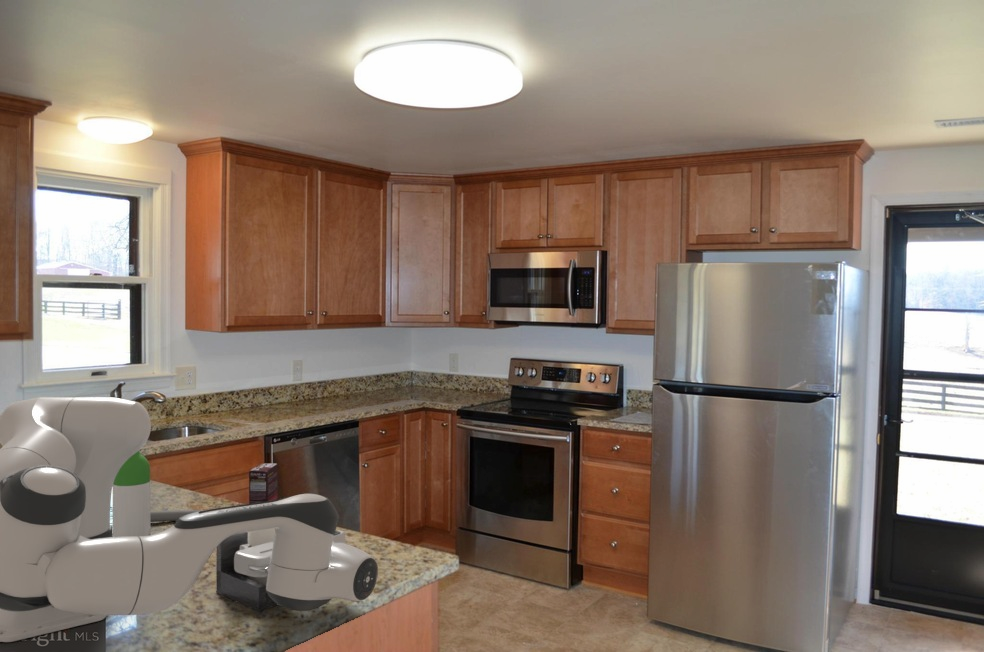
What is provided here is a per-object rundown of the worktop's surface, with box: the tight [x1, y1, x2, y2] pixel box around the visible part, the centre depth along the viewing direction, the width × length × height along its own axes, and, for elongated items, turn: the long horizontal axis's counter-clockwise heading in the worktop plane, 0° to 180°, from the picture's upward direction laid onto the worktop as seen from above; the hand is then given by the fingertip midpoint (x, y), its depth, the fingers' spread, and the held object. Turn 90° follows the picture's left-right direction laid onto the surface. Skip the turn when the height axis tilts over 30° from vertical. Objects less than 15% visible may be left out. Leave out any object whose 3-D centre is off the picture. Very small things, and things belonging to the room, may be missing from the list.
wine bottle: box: [112, 450, 151, 537], centre depth 172 cm, size 8×8×30 cm
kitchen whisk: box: [110, 506, 202, 527], centre depth 191 cm, size 6×34×6 cm, turn 113°
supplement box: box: [248, 462, 279, 504], centre depth 188 cm, size 9×5×16 cm, turn 178°
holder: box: [215, 532, 278, 613], centre depth 148 cm, size 11×14×12 cm
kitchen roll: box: [248, 528, 275, 593], centre depth 148 cm, size 6×6×14 cm
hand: (264, 542), depth 147 cm, fingers open, 8 cm apart
